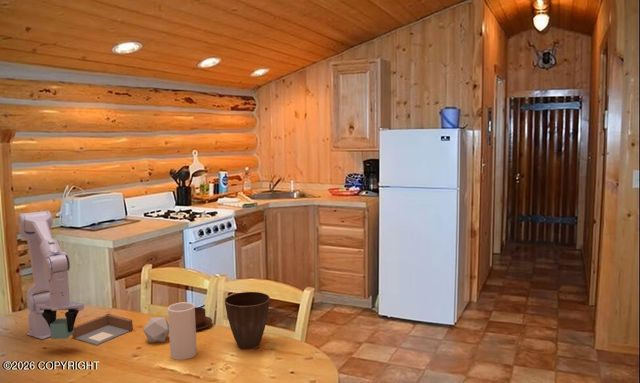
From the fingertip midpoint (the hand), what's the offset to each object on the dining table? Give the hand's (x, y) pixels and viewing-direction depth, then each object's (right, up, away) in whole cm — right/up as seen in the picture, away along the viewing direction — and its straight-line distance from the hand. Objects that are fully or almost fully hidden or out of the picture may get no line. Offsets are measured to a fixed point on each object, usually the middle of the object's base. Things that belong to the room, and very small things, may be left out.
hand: (62, 331), depth 170 cm
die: (+29, -6, +8) cm, 30 cm away
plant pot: (+61, -6, +4) cm, 61 cm away
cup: (+41, -7, -3) cm, 41 cm away
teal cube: (0, -2, 0) cm, 2 cm away
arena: (+7, -5, +14) cm, 17 cm away
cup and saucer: (+39, -4, +21) cm, 44 cm away
